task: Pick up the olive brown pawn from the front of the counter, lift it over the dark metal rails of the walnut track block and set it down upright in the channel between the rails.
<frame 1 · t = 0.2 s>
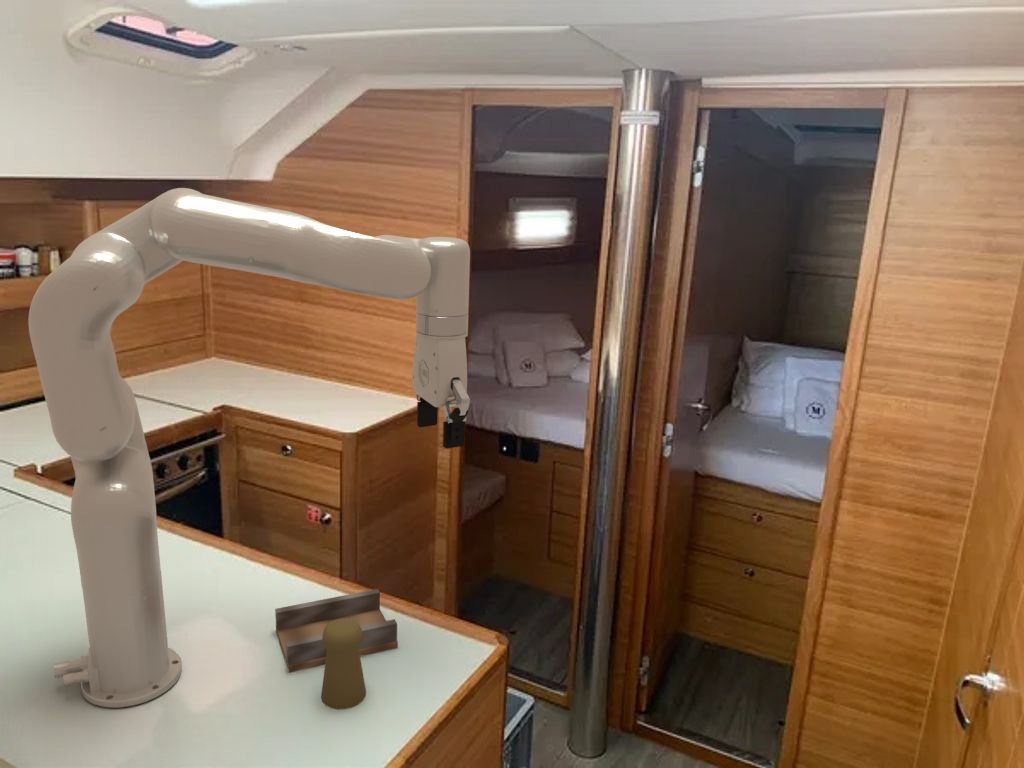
hand: (440, 435, 120), 31 cm above the counter, fingers open, 9 cm apart
olive brown pawn: (343, 695, 110), on the counter
track: (336, 639, 122), on the counter
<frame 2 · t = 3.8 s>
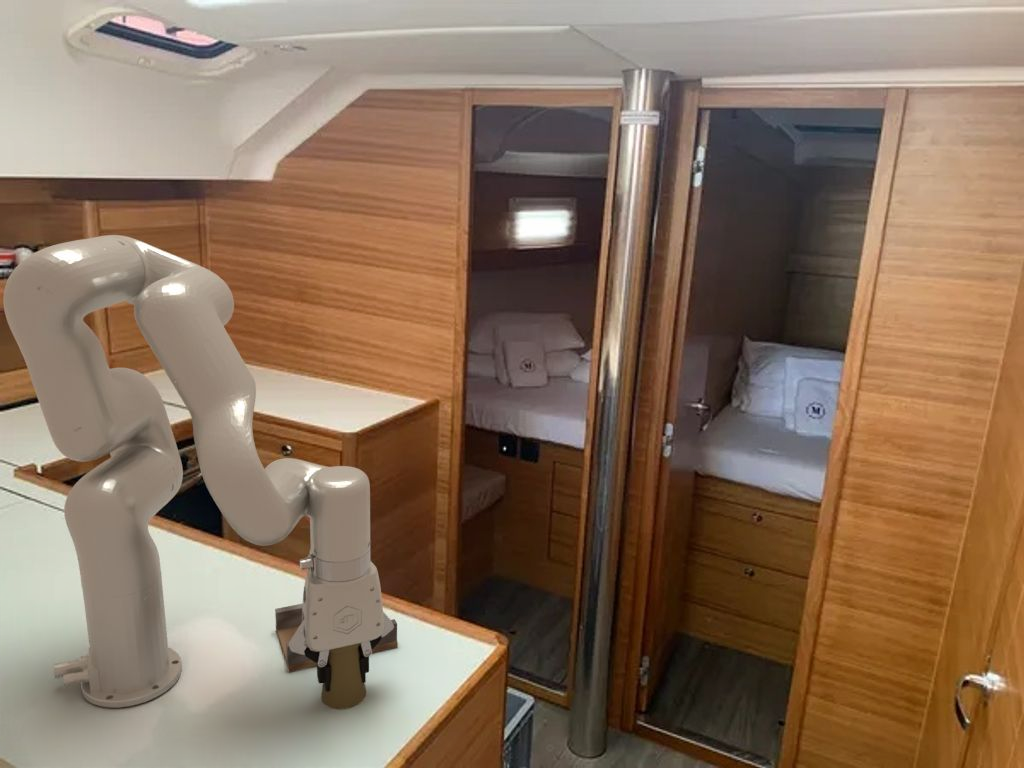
hand: (343, 679, 109), 2 cm above the counter, fingers closed on olive brown pawn, 4 cm apart
olive brown pawn: (343, 695, 110), on the counter, touching gripper
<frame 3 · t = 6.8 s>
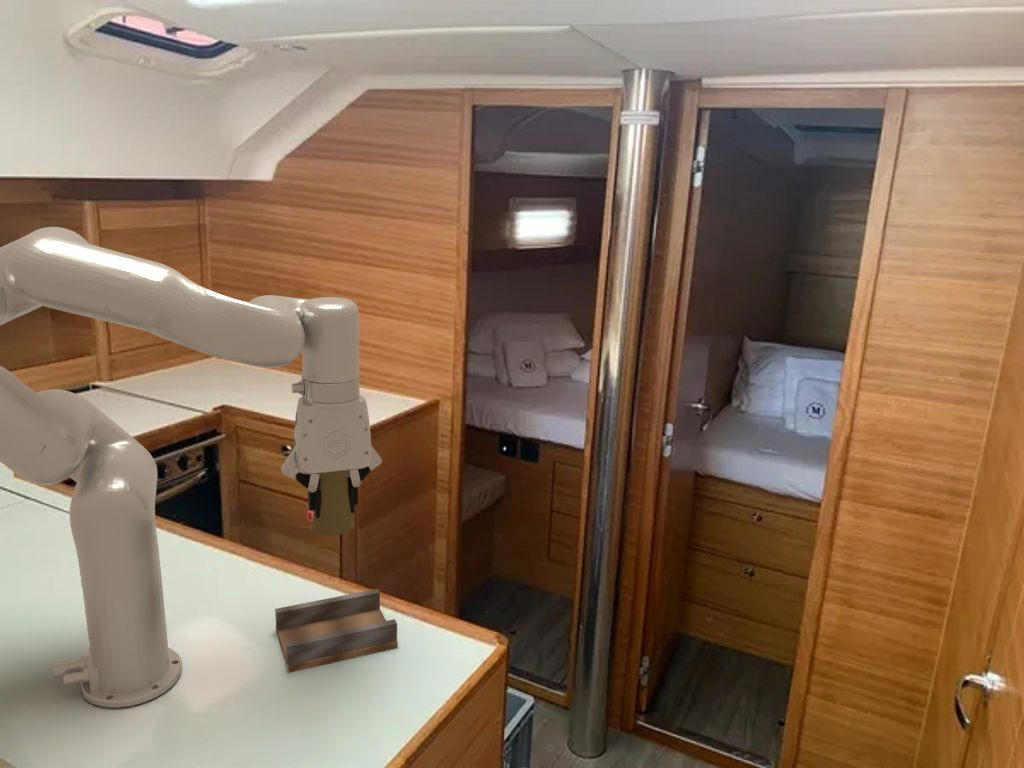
hand: (333, 510, 114), 22 cm above the counter, fingers closed on olive brown pawn, 4 cm apart
olive brown pawn: (333, 526, 115), point 20 cm above the counter, touching gripper
when the fingers open (5 cm above the counter, at t = 9.9 s): olive brown pawn drops 1 cm, resting on track.
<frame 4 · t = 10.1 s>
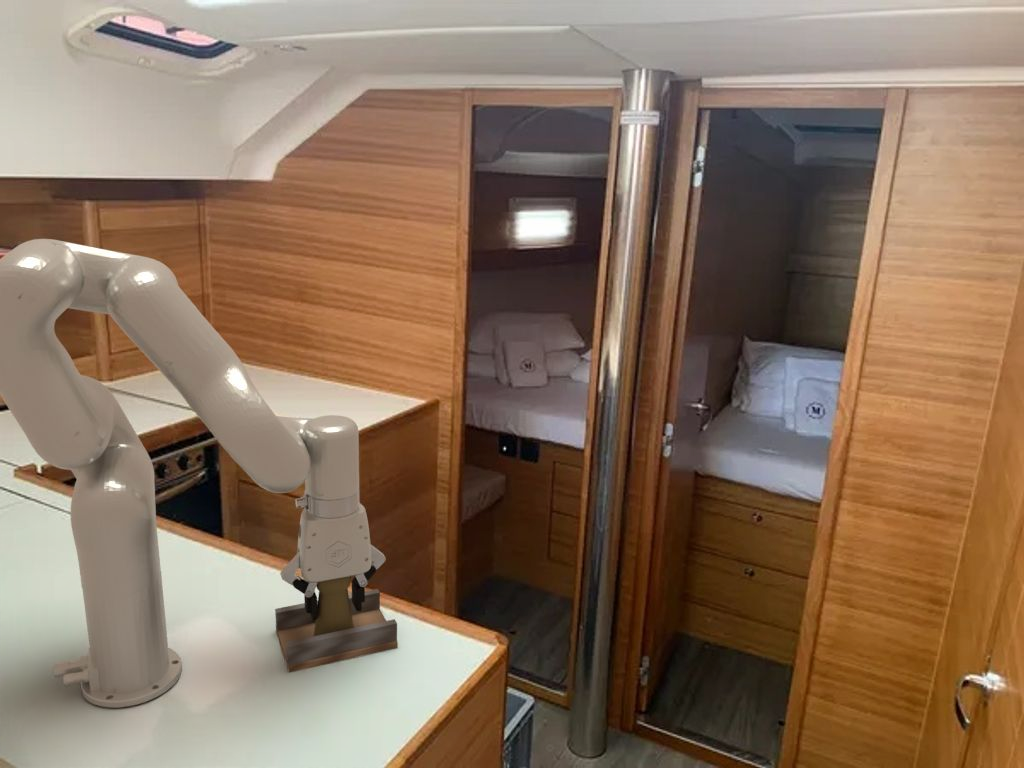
hand: (335, 610, 120), 5 cm above the counter, fingers open, 6 cm apart
olive brown pawn: (334, 634, 121), point 1 cm above the counter, touching track
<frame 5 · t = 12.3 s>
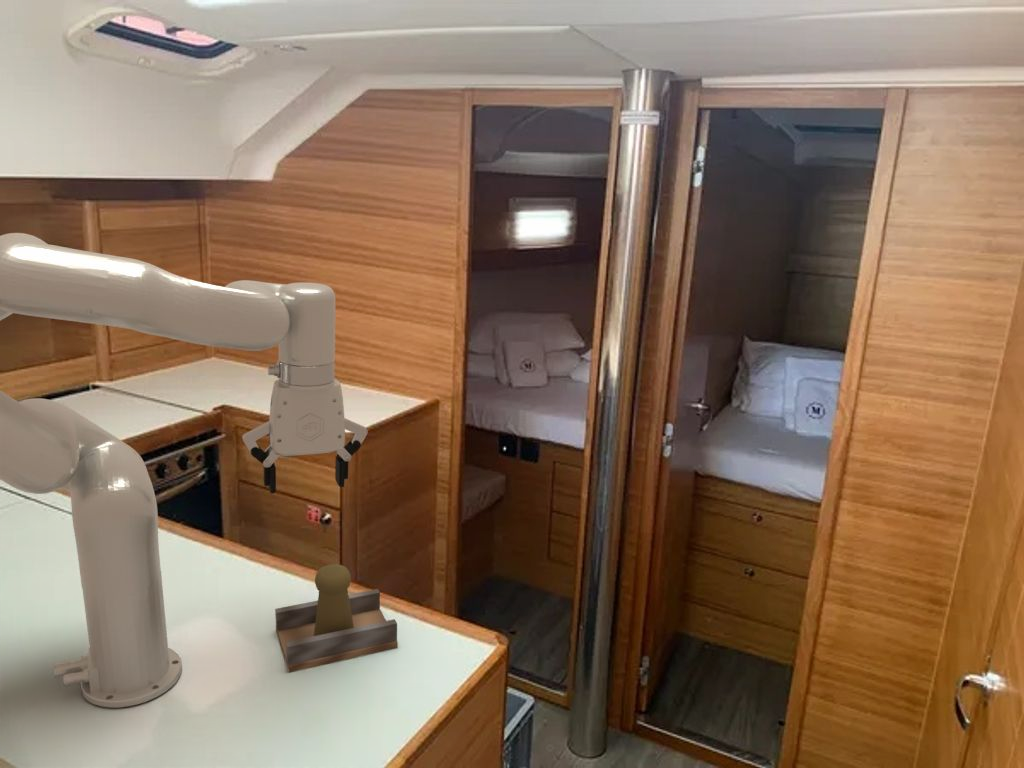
hand: (306, 486, 116), 24 cm above the counter, fingers open, 9 cm apart
nothing on the counter moved.
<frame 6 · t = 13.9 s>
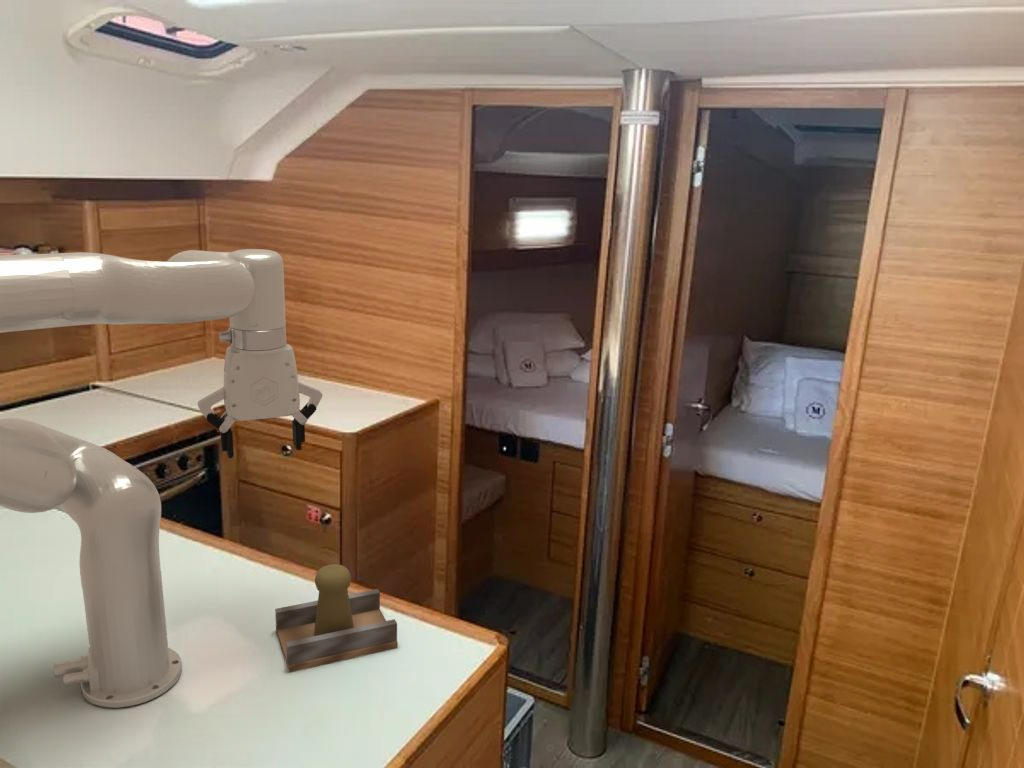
hand: (264, 451, 118), 28 cm above the counter, fingers open, 9 cm apart
nothing on the counter moved.
at the end: olive brown pawn inside the target area on the track (0.3 cm from its centre), point 0.8 cm above the track's base; olive brown pawn tilted 0°; the gripper is holding nothing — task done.
